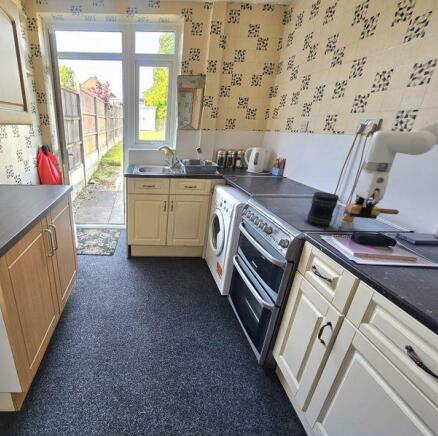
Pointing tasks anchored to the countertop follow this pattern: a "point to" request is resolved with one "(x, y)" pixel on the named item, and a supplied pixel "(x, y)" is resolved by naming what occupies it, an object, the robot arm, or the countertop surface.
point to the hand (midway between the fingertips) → (360, 214)
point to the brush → (355, 209)
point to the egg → (346, 222)
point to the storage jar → (322, 209)
